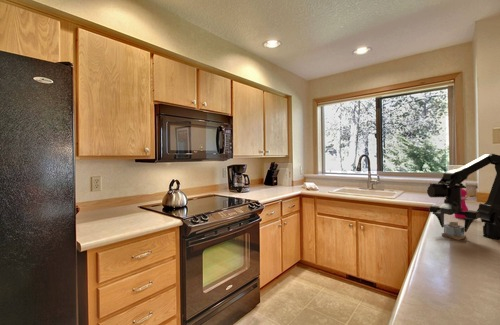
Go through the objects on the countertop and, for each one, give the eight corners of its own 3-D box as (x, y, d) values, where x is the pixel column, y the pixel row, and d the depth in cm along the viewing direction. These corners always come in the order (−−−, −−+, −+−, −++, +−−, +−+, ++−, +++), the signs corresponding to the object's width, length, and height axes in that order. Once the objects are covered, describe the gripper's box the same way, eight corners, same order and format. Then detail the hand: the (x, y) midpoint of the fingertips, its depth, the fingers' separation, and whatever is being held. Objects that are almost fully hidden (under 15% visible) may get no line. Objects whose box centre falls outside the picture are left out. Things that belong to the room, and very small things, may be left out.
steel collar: (466, 235, 116) (466, 226, 116) (459, 237, 113) (459, 228, 113) (448, 231, 122) (448, 223, 122) (441, 233, 119) (441, 225, 119)
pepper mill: (463, 219, 150) (462, 187, 150) (450, 216, 157) (450, 185, 157) (471, 218, 152) (471, 186, 152) (458, 215, 159) (458, 185, 159)
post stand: (466, 237, 116) (466, 222, 116) (459, 239, 113) (458, 224, 113) (448, 233, 122) (448, 219, 122) (441, 235, 119) (441, 221, 119)
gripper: (422, 196, 122) (423, 227, 122) (470, 201, 105) (470, 237, 105) (434, 194, 127) (435, 224, 127) (481, 199, 110) (481, 233, 111)
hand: (453, 229), depth 117 cm, fingers open, 9 cm apart
